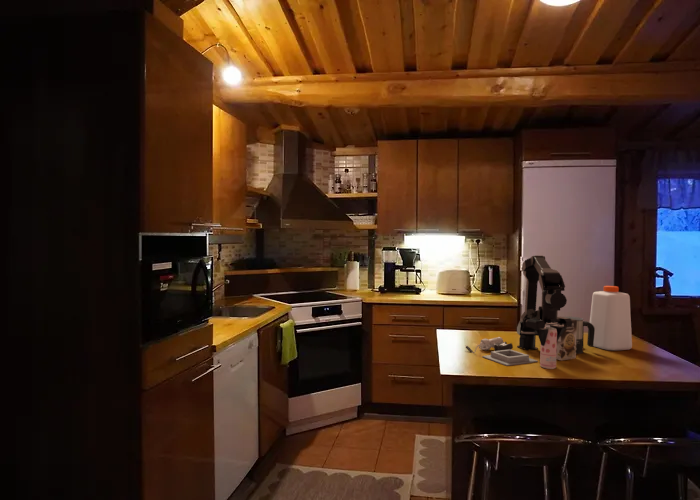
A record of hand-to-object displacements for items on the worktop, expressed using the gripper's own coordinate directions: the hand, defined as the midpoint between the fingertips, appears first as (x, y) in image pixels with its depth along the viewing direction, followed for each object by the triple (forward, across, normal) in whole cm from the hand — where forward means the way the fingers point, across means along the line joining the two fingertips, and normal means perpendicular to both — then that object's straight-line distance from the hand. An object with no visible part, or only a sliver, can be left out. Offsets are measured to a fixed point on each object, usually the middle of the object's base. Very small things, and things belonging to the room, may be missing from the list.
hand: (548, 344), depth 178 cm
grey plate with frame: (+8, +6, -14) cm, 17 cm away
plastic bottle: (+9, -54, -14) cm, 56 cm away
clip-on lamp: (+9, +6, -27) cm, 29 cm away
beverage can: (+9, 0, 0) cm, 9 cm away
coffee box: (+9, -17, -8) cm, 21 cm away
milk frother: (+9, -33, -17) cm, 38 cm away
